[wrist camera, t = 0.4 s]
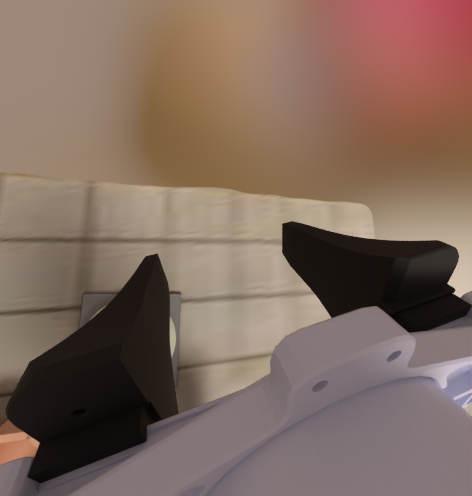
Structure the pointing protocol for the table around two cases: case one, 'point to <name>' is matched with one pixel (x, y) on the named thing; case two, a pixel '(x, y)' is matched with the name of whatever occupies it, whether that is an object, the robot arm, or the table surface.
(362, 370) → the robot arm
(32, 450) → the bowl
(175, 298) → the mat
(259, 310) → the table surface
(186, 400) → the table surface
